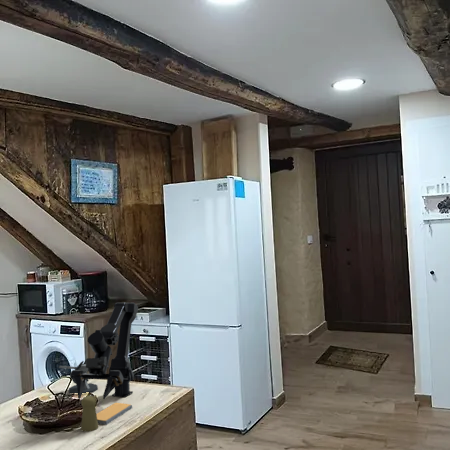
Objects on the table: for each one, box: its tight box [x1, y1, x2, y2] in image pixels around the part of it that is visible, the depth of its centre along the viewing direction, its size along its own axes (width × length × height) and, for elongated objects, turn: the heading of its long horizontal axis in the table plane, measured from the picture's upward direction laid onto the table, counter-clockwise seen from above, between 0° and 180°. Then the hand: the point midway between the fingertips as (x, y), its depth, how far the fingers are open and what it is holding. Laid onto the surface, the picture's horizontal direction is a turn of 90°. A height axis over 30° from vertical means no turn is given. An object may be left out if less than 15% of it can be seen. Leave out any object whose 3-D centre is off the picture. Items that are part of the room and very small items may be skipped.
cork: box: [80, 395, 99, 433], centre depth 181 cm, size 6×6×11 cm
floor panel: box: [96, 402, 133, 426], centre depth 194 cm, size 17×8×1 cm, turn 158°
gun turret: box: [58, 358, 99, 394], centre depth 225 cm, size 13×20×13 cm, turn 71°
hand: (91, 398), depth 184 cm, fingers open, 9 cm apart
